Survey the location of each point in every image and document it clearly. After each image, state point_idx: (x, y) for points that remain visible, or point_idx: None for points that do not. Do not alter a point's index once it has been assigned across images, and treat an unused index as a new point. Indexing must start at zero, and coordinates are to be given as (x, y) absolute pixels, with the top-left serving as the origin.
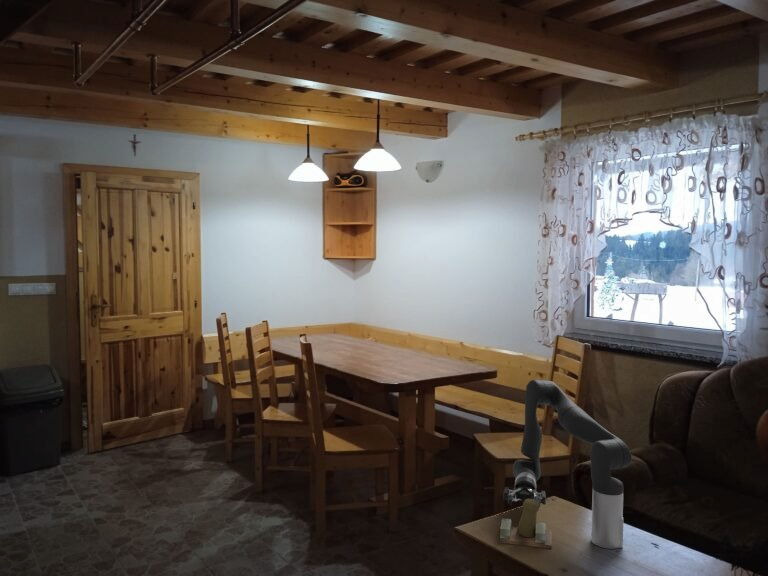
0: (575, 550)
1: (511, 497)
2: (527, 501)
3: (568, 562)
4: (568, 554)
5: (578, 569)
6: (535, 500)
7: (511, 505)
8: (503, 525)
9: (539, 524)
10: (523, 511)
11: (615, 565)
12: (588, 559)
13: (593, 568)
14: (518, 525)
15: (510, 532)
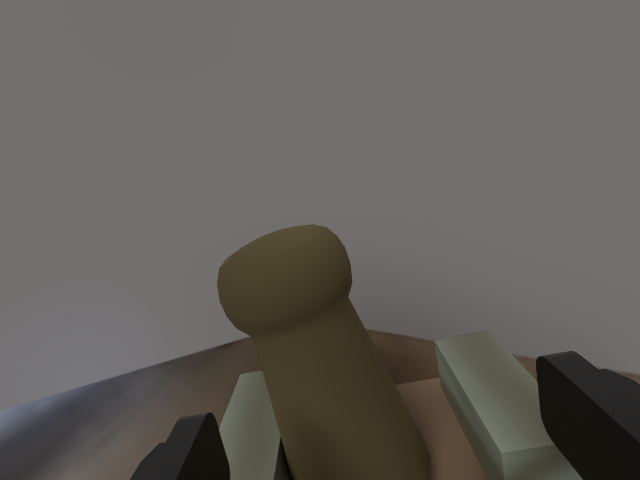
0: (110, 457)
1: (605, 395)
2: (306, 225)
3: (195, 373)
4: (167, 415)
5: (179, 357)
6: (236, 260)
7: (552, 428)
8: (495, 357)
9: (249, 459)
10: (353, 308)
11: (23, 416)
12: (101, 414)
13: (124, 376)
14: (410, 415)
15: (469, 442)
